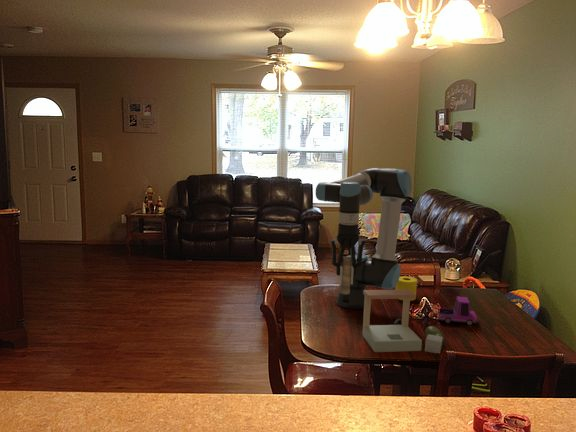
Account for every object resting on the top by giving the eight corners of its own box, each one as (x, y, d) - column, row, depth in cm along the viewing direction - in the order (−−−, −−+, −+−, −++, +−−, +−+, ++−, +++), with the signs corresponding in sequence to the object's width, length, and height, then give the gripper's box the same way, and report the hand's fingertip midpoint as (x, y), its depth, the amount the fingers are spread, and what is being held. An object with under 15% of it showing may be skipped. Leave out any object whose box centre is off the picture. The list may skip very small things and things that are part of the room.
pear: (435, 323, 208) (449, 336, 198) (433, 334, 209) (447, 348, 200) (423, 324, 206) (437, 337, 197) (421, 335, 208) (434, 349, 199)
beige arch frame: (361, 325, 207) (363, 290, 205) (406, 324, 210) (409, 289, 207) (366, 331, 201) (368, 295, 198) (413, 330, 203) (415, 294, 201)
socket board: (362, 335, 207) (362, 325, 207) (405, 333, 210) (406, 324, 209) (374, 352, 192) (375, 341, 191) (421, 350, 194) (421, 340, 194)
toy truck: (476, 327, 220) (478, 304, 218) (438, 323, 223) (440, 301, 221) (472, 318, 230) (474, 296, 229) (436, 315, 233) (438, 293, 232)
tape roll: (417, 301, 251) (419, 282, 250) (397, 300, 251) (398, 281, 250) (413, 294, 261) (414, 276, 260) (393, 294, 261) (394, 275, 260)
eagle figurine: (415, 329, 212) (412, 317, 220) (407, 316, 210) (404, 305, 219) (399, 337, 214) (396, 325, 222) (390, 324, 212) (388, 312, 220)
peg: (339, 291, 201) (341, 256, 199) (348, 291, 202) (350, 256, 199) (341, 294, 198) (343, 258, 195) (350, 294, 198) (352, 258, 196)
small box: (440, 354, 192) (441, 341, 191) (424, 351, 194) (425, 339, 193) (441, 348, 197) (443, 336, 196) (426, 345, 199) (427, 333, 198)
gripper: (329, 225, 190) (326, 286, 194) (372, 225, 193) (369, 286, 197) (324, 221, 198) (322, 280, 202) (367, 221, 200) (363, 280, 204)
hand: (345, 283), depth 199 cm, fingers closed on peg, 3 cm apart
